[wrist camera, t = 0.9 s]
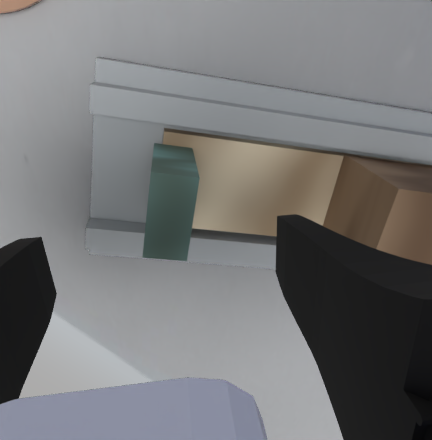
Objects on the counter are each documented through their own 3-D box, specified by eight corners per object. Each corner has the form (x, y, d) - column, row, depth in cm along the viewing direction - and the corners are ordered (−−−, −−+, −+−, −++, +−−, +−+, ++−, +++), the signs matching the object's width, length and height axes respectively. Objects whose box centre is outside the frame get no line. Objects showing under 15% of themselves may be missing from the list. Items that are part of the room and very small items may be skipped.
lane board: (471, 119, 21) (502, 127, 19) (406, 272, 25) (426, 291, 23) (98, 57, 18) (90, 58, 16) (91, 245, 22) (84, 266, 20)
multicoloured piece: (438, 166, 21) (516, 202, 16) (407, 243, 23) (468, 294, 18) (155, 126, 18) (152, 155, 14) (146, 217, 20) (141, 270, 16)
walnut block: (432, 166, 20) (508, 202, 16) (398, 249, 22) (458, 303, 18) (344, 154, 19) (398, 189, 15) (317, 242, 21) (358, 296, 17)
